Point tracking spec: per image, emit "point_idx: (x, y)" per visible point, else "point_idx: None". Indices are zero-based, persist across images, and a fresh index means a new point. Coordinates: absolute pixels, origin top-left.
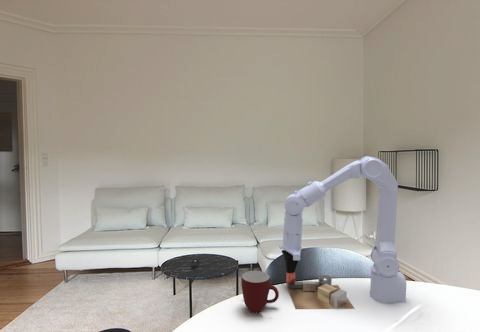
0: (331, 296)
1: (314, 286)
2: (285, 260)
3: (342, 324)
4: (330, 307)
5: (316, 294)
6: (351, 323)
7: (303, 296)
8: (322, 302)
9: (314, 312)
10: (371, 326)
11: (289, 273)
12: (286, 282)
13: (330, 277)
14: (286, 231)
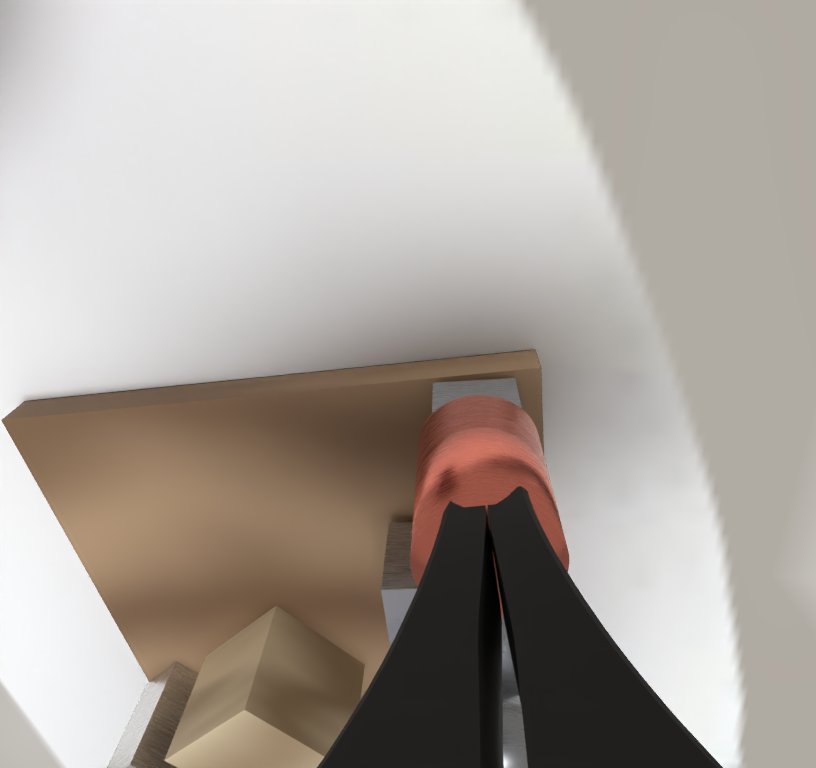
0: (131, 750)
1: None
2: (421, 739)
3: (16, 659)
4: (152, 658)
5: (356, 608)
6: (54, 699)
7: (287, 510)
8: (216, 626)
9: None
10: (69, 763)
11: (421, 541)
12: (464, 401)
13: None
14: None
